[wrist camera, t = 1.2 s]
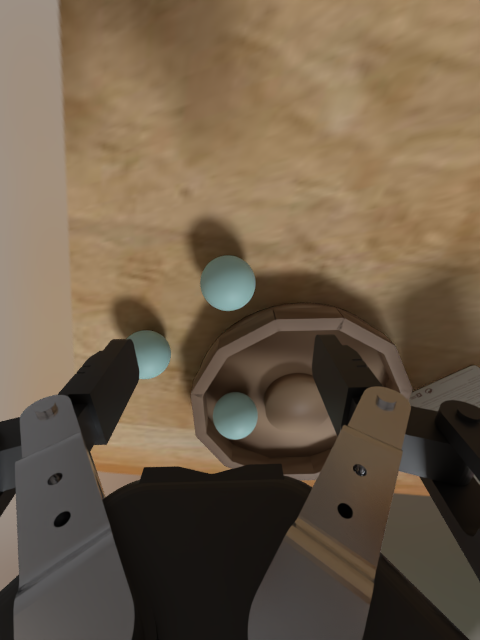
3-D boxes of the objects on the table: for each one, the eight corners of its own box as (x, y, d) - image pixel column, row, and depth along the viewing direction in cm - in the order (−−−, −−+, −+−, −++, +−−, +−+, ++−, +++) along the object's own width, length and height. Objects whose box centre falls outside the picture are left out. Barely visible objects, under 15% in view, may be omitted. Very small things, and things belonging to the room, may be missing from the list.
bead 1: (125, 322, 23) (105, 347, 20) (172, 321, 23) (160, 346, 20) (134, 360, 25) (117, 390, 22) (177, 359, 25) (167, 389, 22)
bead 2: (201, 250, 21) (194, 264, 17) (254, 249, 21) (257, 263, 17) (205, 299, 23) (199, 321, 19) (253, 298, 23) (257, 319, 19)
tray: (187, 305, 23) (181, 321, 20) (414, 300, 23) (438, 316, 20) (204, 456, 31) (201, 482, 29) (369, 453, 31) (382, 478, 29)
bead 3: (213, 383, 25) (209, 416, 22) (256, 382, 25) (259, 415, 22) (215, 415, 27) (212, 450, 23) (255, 414, 27) (259, 449, 23)
